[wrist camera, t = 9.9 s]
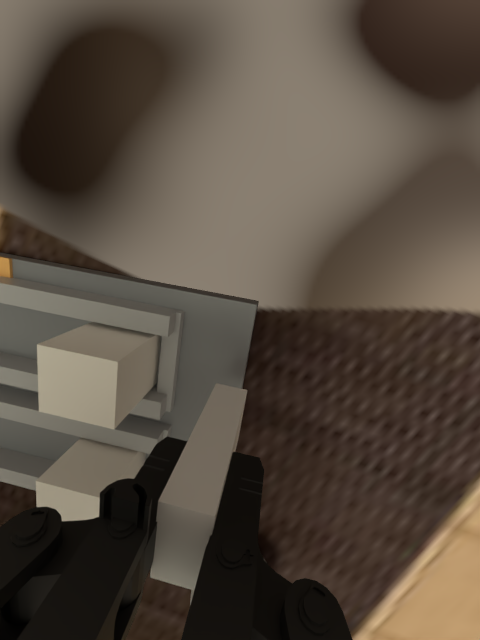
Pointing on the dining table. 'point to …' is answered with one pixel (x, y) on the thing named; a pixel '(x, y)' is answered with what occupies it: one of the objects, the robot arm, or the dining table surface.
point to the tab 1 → (96, 373)
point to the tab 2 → (85, 477)
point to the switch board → (121, 311)
